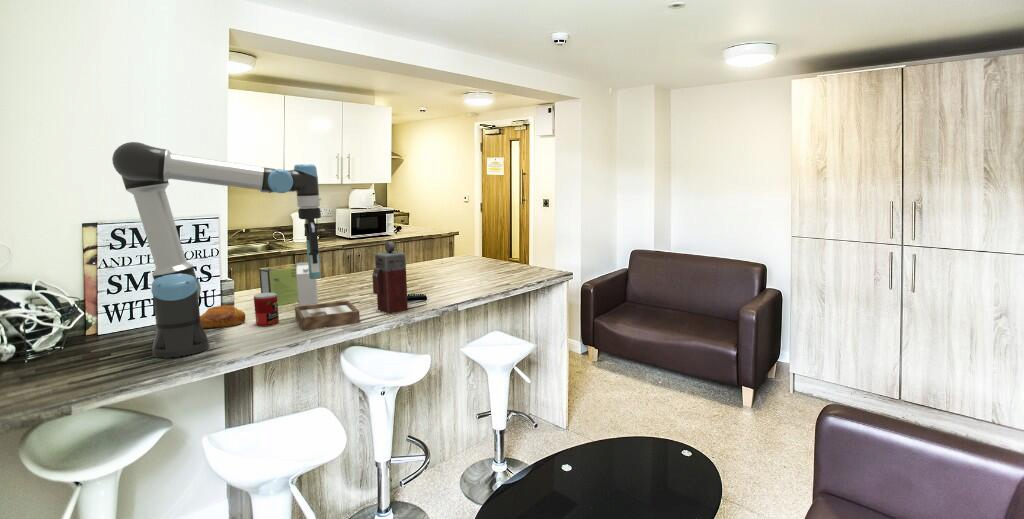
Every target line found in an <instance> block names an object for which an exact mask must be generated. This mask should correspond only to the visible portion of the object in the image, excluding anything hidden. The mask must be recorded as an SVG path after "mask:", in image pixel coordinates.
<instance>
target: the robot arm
mask: <svg viewBox="0 0 1024 519" xmlns="http://www.w3.org/2000/svg"><path fill="white" fill-rule="evenodd" d="M111 160H112V165H113V168H114V169H115V171H116V172H117V173H118V174H119V175H120V176H121V179H122V182H123V185H124V187H125V191H127V192H128V193H130V194H132V195H133V198H134V201H135V203H136V207H137V211H138V214H139V217H140V220H141V223H142V227H143V231H144V233H145V237H146V239H147V243H148V246H149V247H148V248H149V250H150V253H151V256H152V259H153V262H154V267H155V269H154V271H153V272H152V273H151V275H152V278H153V281H152V283H151V290H150V292H151V294H152V298H153V308H154V315H155V316H154V317H155V324H156V333H155V335H154V339H153V343H152V347H151V351H152V356H153V355H154V356H157V357H156V358H158V357H168V358H167V359H173V358H172V357H175V358H181V357H180V356H183V357H187V356H186V355H188V356H191V355H190V354H192V355H195V353H196V354H199V353H202V352H204V351H206V350H208V349H209V348H210V340H209V338H208V336H207V334H206V331H205V328H203V327H202V325H201V322H200V316H201V315H200V304H199V298H200V295H201V291H202V288H201V283H200V281H199V280H198V278H197V275H196V273H195V272H196V271H195V268H194V265H193V264H192V263H190V262H188V261H187V259H186V257H185V253H184V250H183V246H182V243H181V239H180V236H179V233H178V230H177V226H176V223H175V219H174V215H173V212H172V209H171V206H170V202H169V199H168V195H167V192H166V190H167V188H168V186H169V185H170V182H169V180H177V181H185V182H193V183H201V184H209V185H216V186H223V187H224V186H225V187H233V188H241V189H250V190H257V191H259V192H261V193H268V194H271V193H277V194H285V193H287V192H288V193H289V192H293V193H294V192H296V202H297V203H296V204H297V207H298V210H297V211H298V212H297V213H298V218H299V219H300V220H305V223H304V226H303V227H304V229H305V230H304V231H305V232H304V233H305V237H306V239H305V240H306V241H307V240H309V244H310V253H309V254H308V255H310V261H311V272H312V273H315V272H320V270H321V269H320V270H319V259H318V253H319V254H320V249H319V250H318V247H319V238H318V223H316V220H315V219H320V218H321V217H322V216H321V215H322V213H321V208H320V204H321V202H320V201H322V198H321V197H320V194H319V193H320V192H319V176H318V171H317V166H316V165H315V164H311V163H309V164H307V163H305V164H303V163H301V164H299V163H298V164H295V165H294V168H293V169H291V170H288V169H287V170H286V169H282V168H277V169H276V168H272V167H264V166H257V165H252V164H243V163H239V162H231V161H230V162H229V161H225V160H217V159H210V158H203V157H196V156H191V155H184V154H176V153H172V152H171V151H170V150H169V149H165V148H160V147H156V146H150V145H148V144H145V143H142V142H140V141H139V142H137V141H129V142H125V143H123V144H121V145H119V146H117V148H116V149H115V150H114V152H113V154H112V159H111ZM308 255H307V256H308ZM198 352H199V353H198ZM154 356H153V357H154ZM170 357H171V358H170Z"/></svg>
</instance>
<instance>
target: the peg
mask: <svg viewBox="0 0 1024 519" xmlns="http://www.w3.org/2000/svg"><path fill="white" fill-rule="evenodd" d="M305 242H306V254H307V262H308V266H309V277H310V279H317V280H318V279H321V278H322V273H321V261H320V252H319V253H318V259H319V270H320V272H315V273H312V272H311V261H310V255H308V254H309V253H310V244H309V240H307V239H306V240H305ZM318 250H319V251H320V247H319V246H318Z"/></svg>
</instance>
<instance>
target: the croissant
mask: <svg viewBox="0 0 1024 519" xmlns="http://www.w3.org/2000/svg"><path fill="white" fill-rule="evenodd" d="M245 321H246V313H245V311H243V310H241V309H238V308H237V307H235V306H234V305H228V304H226V305H218V306H217V305H216V306H212V307H209V308H208V309H207V310H206V311H204V312H203V313H202V314H201V315H200V322H201V325H202V327H203V329H211V328H213V327H215V328H224V327H231V326H237V325H241V324H243V323H245Z"/></svg>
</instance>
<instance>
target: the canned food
mask: <svg viewBox="0 0 1024 519" xmlns="http://www.w3.org/2000/svg"><path fill="white" fill-rule="evenodd" d="M253 302H254V303H253V305H254V314H255V324H256V325H257V326H259V327H270V326H274V325H277V324H279V321H280V319H279V305H278V302H277V294H276V293H261V292H260V293H256V294H255V295H253Z"/></svg>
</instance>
